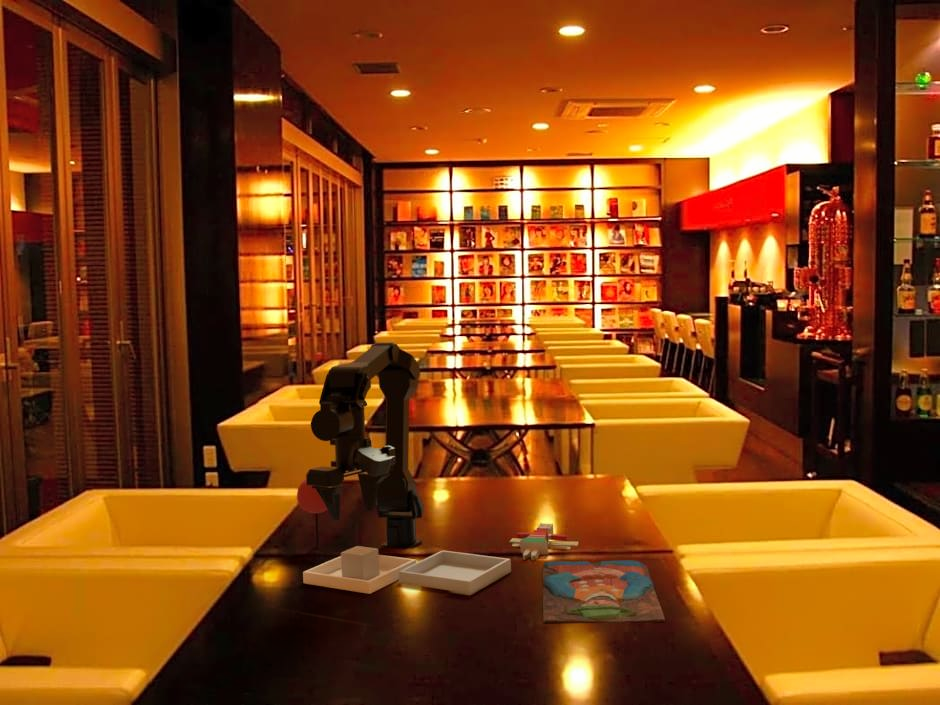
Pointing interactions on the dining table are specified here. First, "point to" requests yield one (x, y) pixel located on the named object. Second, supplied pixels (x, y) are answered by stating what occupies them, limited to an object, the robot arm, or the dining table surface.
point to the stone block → (360, 563)
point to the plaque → (599, 592)
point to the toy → (541, 542)
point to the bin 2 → (456, 572)
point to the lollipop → (310, 502)
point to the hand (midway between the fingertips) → (352, 515)
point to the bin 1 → (332, 577)
